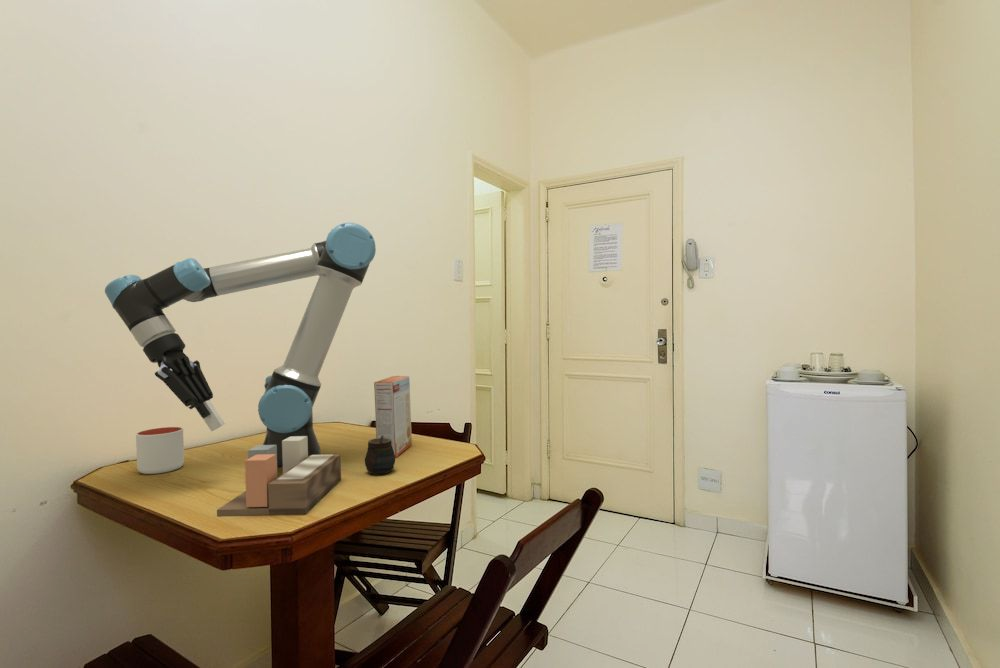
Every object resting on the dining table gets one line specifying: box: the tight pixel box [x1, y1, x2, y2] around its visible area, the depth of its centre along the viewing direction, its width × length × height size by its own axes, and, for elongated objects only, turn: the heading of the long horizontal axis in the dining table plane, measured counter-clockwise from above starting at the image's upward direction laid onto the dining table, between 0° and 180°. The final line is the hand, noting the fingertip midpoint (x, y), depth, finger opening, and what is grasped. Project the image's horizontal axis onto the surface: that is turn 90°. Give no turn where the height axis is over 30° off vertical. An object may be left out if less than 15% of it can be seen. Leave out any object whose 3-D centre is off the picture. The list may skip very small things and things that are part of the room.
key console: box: [216, 454, 342, 517], centre depth 106 cm, size 21×17×6 cm
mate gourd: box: [364, 435, 396, 476], centre depth 122 cm, size 7×8×10 cm
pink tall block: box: [244, 454, 278, 507], centre depth 98 cm, size 4×4×9 cm
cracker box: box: [373, 375, 413, 458], centre depth 142 cm, size 14×6×21 cm, turn 172°
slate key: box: [247, 444, 279, 478], centre depth 106 cm, size 4×4×9 cm
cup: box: [135, 426, 185, 475], centre depth 128 cm, size 10×10×10 cm
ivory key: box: [282, 436, 308, 474], centre depth 114 cm, size 4×4×9 cm
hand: (218, 427), depth 114 cm, fingers closed
